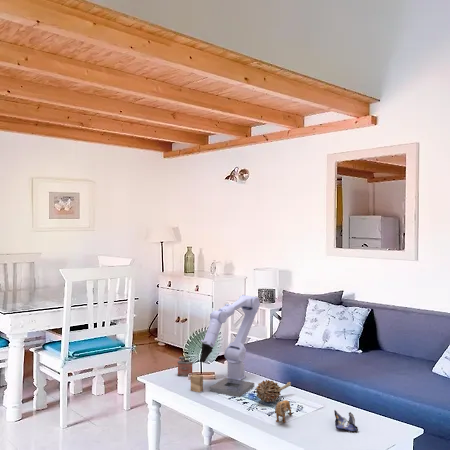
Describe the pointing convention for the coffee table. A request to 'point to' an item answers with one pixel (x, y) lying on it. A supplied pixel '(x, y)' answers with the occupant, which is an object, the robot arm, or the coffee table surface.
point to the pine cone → (269, 390)
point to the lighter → (184, 367)
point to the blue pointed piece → (341, 421)
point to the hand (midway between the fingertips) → (202, 361)
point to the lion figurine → (282, 410)
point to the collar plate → (232, 387)
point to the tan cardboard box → (196, 383)
